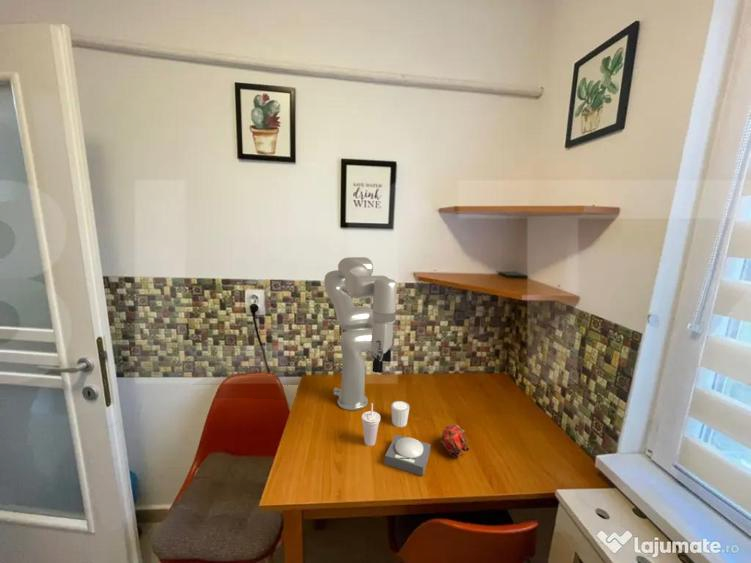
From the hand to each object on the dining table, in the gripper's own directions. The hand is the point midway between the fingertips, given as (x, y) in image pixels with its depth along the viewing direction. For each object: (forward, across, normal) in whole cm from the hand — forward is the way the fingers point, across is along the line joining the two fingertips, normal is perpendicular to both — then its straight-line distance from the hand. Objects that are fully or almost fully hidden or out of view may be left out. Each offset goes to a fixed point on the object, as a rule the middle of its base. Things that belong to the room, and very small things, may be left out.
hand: (381, 366), depth 104 cm
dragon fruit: (+27, -4, +25) cm, 37 cm away
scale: (+27, +5, +11) cm, 30 cm away
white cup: (+27, -12, +4) cm, 30 cm away
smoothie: (+27, +3, -2) cm, 27 cm away
